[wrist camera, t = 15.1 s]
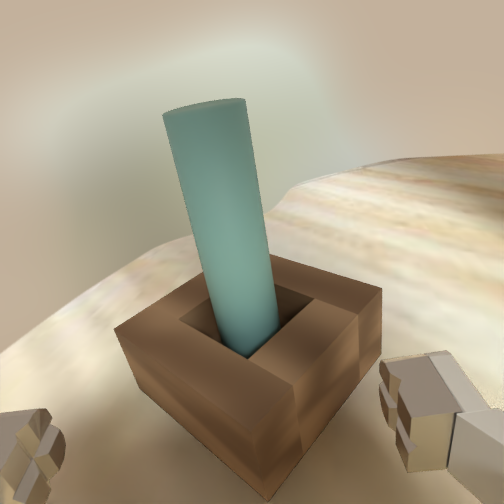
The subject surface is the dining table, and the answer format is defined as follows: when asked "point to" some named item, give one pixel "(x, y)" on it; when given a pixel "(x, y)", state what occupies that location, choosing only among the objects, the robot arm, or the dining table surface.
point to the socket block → (258, 367)
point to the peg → (226, 218)
